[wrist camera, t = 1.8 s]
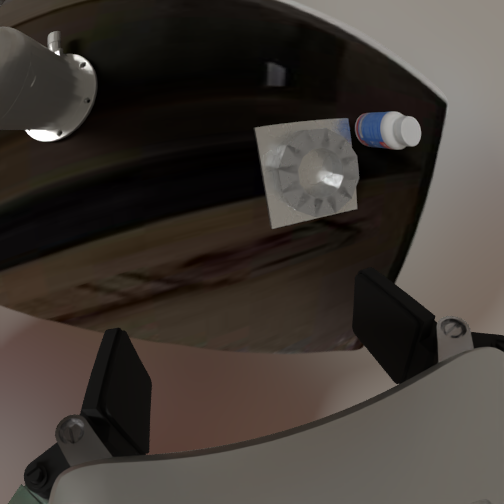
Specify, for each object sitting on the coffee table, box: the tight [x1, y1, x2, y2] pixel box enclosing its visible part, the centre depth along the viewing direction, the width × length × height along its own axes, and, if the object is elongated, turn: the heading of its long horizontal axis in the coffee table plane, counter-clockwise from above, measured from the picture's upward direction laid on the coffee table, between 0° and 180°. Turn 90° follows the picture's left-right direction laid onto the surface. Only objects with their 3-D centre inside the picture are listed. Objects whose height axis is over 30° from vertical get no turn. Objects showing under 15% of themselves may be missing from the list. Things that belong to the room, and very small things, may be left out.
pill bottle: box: [355, 112, 421, 150], centre depth 32 cm, size 6×5×10 cm
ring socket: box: [253, 118, 359, 229], centre depth 35 cm, size 14×14×4 cm
